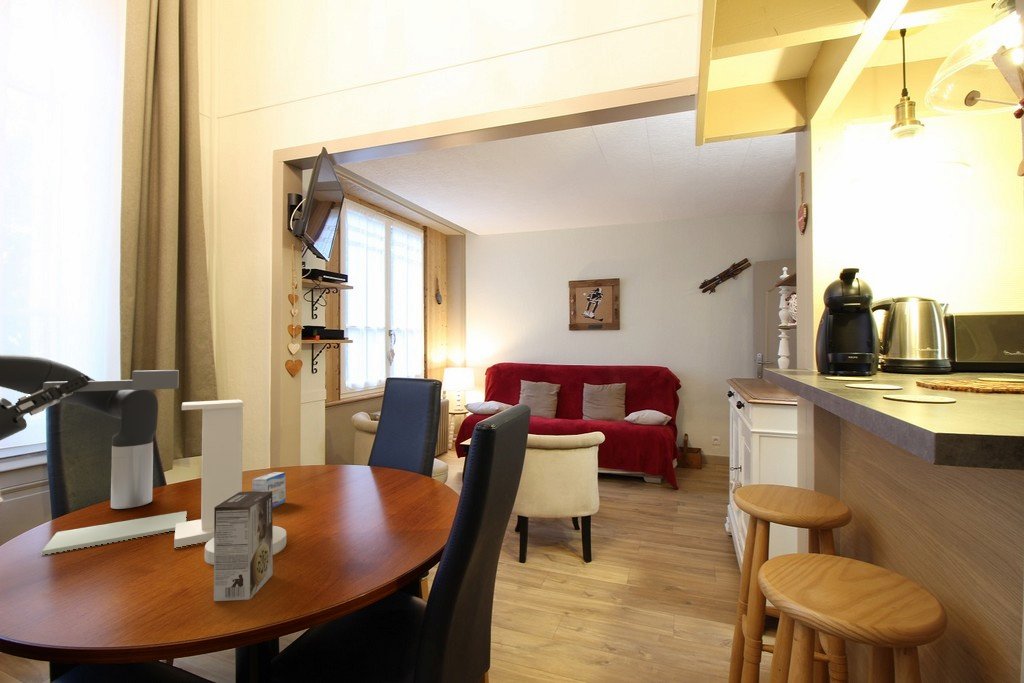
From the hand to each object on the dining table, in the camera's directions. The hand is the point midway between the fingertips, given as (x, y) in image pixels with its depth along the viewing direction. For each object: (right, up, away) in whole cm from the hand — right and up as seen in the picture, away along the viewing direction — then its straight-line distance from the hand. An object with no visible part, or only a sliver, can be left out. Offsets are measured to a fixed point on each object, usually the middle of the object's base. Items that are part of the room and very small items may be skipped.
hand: (87, 379), depth 98 cm
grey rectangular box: (+42, -37, -15) cm, 58 cm away
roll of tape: (+33, -38, +2) cm, 50 cm away
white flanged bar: (+19, -37, +12) cm, 44 cm away
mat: (-3, -38, +12) cm, 40 cm away
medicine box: (+22, -38, +31) cm, 54 cm away
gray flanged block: (+4, -2, +3) cm, 5 cm away
